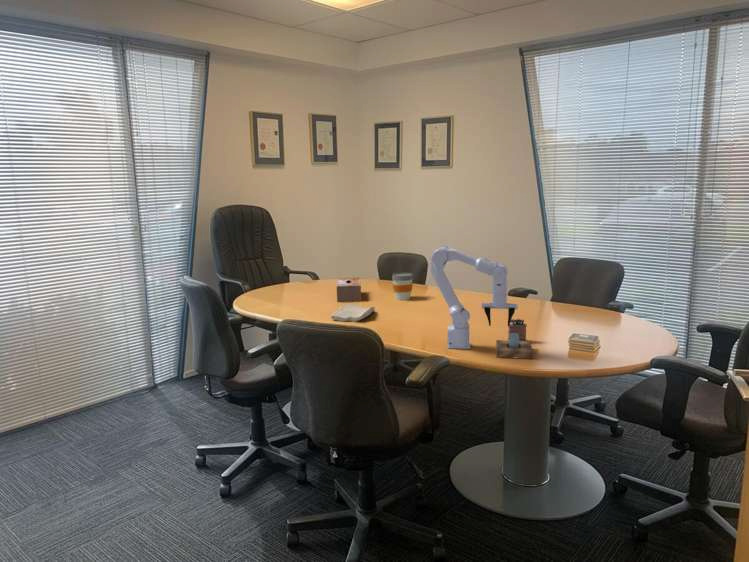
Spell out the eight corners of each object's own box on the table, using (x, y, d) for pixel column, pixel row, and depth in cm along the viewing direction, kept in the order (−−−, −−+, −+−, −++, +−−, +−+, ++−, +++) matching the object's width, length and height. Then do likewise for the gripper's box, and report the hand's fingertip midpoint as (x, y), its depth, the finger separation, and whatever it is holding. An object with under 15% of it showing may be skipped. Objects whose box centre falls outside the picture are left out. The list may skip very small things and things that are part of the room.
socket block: (496, 357, 218) (496, 350, 218) (496, 346, 232) (496, 340, 231) (532, 358, 215) (532, 351, 215) (530, 348, 229) (530, 341, 228)
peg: (508, 354, 222) (508, 335, 220) (509, 351, 225) (509, 332, 224) (518, 354, 220) (518, 335, 219) (519, 351, 224) (519, 333, 223)
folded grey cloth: (380, 314, 298) (347, 308, 304) (381, 301, 296) (348, 295, 302) (364, 327, 275) (329, 320, 282) (365, 313, 274) (329, 307, 280)
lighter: (524, 339, 241) (525, 317, 239) (527, 341, 238) (527, 319, 236) (506, 340, 241) (507, 318, 239) (509, 342, 237) (509, 320, 236)
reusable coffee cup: (388, 299, 327) (388, 275, 324) (399, 295, 337) (399, 271, 334) (406, 301, 320) (405, 276, 317) (417, 297, 330) (416, 273, 327)
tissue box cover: (338, 293, 349) (337, 278, 347) (360, 292, 350) (360, 277, 348) (337, 302, 324) (336, 286, 322) (361, 301, 324) (360, 285, 322)
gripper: (481, 295, 222) (481, 327, 224) (518, 296, 219) (517, 328, 221) (482, 291, 228) (481, 322, 231) (517, 292, 225) (516, 323, 228)
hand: (499, 325), depth 226 cm, fingers open, 7 cm apart
